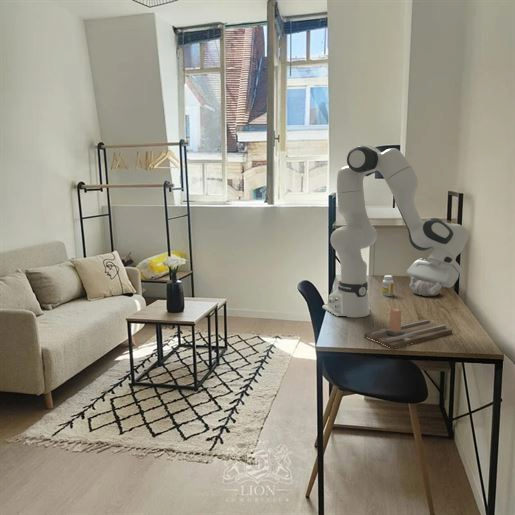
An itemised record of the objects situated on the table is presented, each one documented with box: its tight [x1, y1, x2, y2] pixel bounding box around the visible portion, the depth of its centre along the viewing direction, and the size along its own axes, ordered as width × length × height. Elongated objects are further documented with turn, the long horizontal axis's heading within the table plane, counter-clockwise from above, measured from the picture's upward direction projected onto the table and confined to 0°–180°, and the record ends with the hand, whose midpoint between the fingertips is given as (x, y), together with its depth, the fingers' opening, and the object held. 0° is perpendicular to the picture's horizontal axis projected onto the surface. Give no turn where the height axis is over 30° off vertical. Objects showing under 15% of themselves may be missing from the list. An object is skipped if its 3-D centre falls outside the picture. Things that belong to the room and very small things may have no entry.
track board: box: [363, 319, 453, 349], centre depth 173 cm, size 14×31×2 cm, turn 119°
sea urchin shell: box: [411, 280, 442, 297], centre depth 231 cm, size 13×14×8 cm
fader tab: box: [386, 308, 404, 336], centre depth 168 cm, size 5×4×9 cm
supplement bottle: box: [381, 274, 395, 297], centre depth 230 cm, size 5×5×10 cm
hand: (420, 290), depth 173 cm, fingers open, 8 cm apart
